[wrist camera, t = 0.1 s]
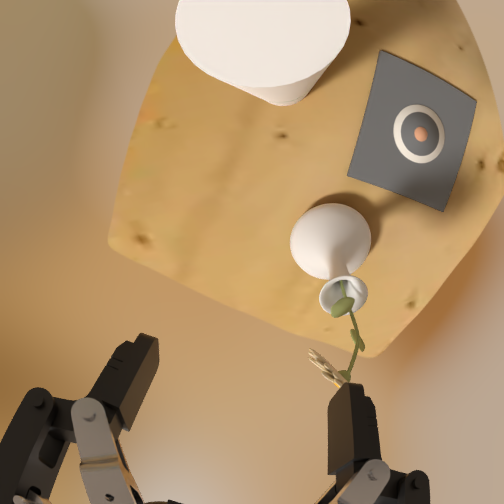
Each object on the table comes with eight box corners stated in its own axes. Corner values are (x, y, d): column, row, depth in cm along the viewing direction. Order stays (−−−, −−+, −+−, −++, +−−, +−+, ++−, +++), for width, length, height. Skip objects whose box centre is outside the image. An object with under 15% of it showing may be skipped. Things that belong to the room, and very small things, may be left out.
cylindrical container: (317, 63, 28) (364, -26, 6) (302, 113, 31) (325, 110, 10) (261, 48, 28) (202, -54, 6) (247, 97, 31) (157, 73, 10)
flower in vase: (281, 208, 38) (261, 351, 16) (362, 192, 35) (446, 315, 13) (301, 286, 43) (298, 437, 22) (372, 273, 40) (418, 416, 19)
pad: (379, 51, 26) (381, 49, 25) (474, 101, 25) (478, 101, 24) (346, 175, 34) (348, 176, 33) (441, 210, 34) (444, 213, 33)
